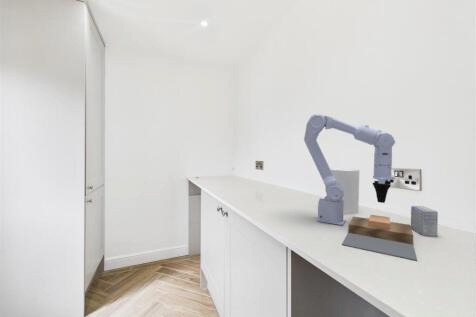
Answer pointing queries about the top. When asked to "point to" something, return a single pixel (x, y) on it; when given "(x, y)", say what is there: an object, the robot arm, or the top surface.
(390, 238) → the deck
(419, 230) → the medicine box
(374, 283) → the top surface
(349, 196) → the canister
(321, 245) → the top surface
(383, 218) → the tan rectangular slab
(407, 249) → the mat
